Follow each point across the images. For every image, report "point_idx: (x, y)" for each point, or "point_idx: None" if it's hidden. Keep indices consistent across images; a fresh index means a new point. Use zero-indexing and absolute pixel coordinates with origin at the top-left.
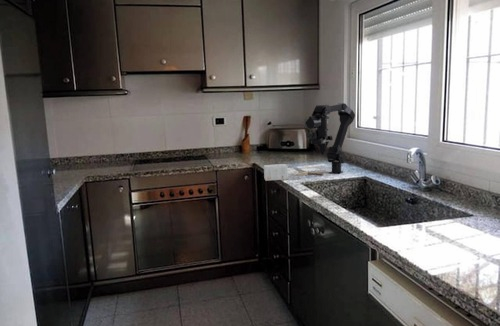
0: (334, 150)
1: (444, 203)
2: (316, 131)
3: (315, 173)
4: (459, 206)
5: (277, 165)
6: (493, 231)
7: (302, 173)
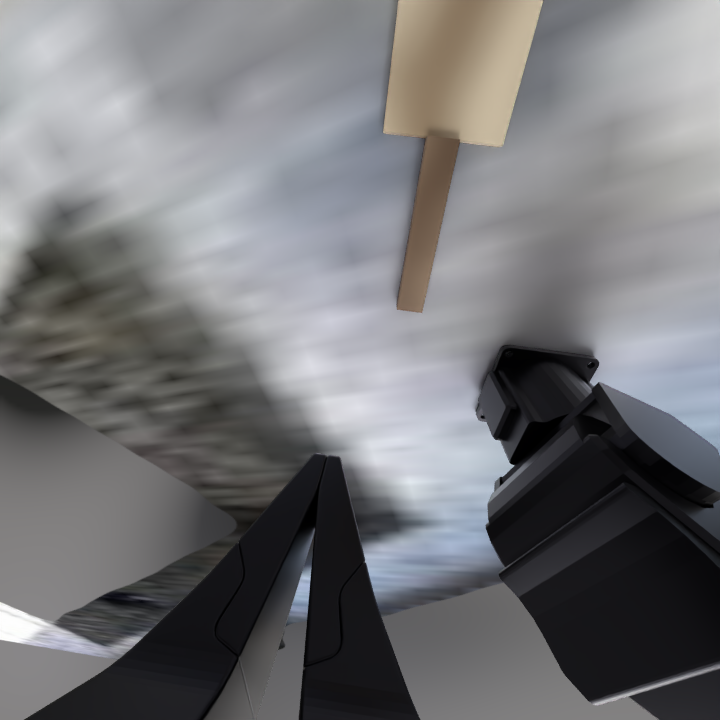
0: (576, 608)
1: None
2: None
3: (409, 241)
4: None
5: None
6: (42, 646)
7: (423, 50)
